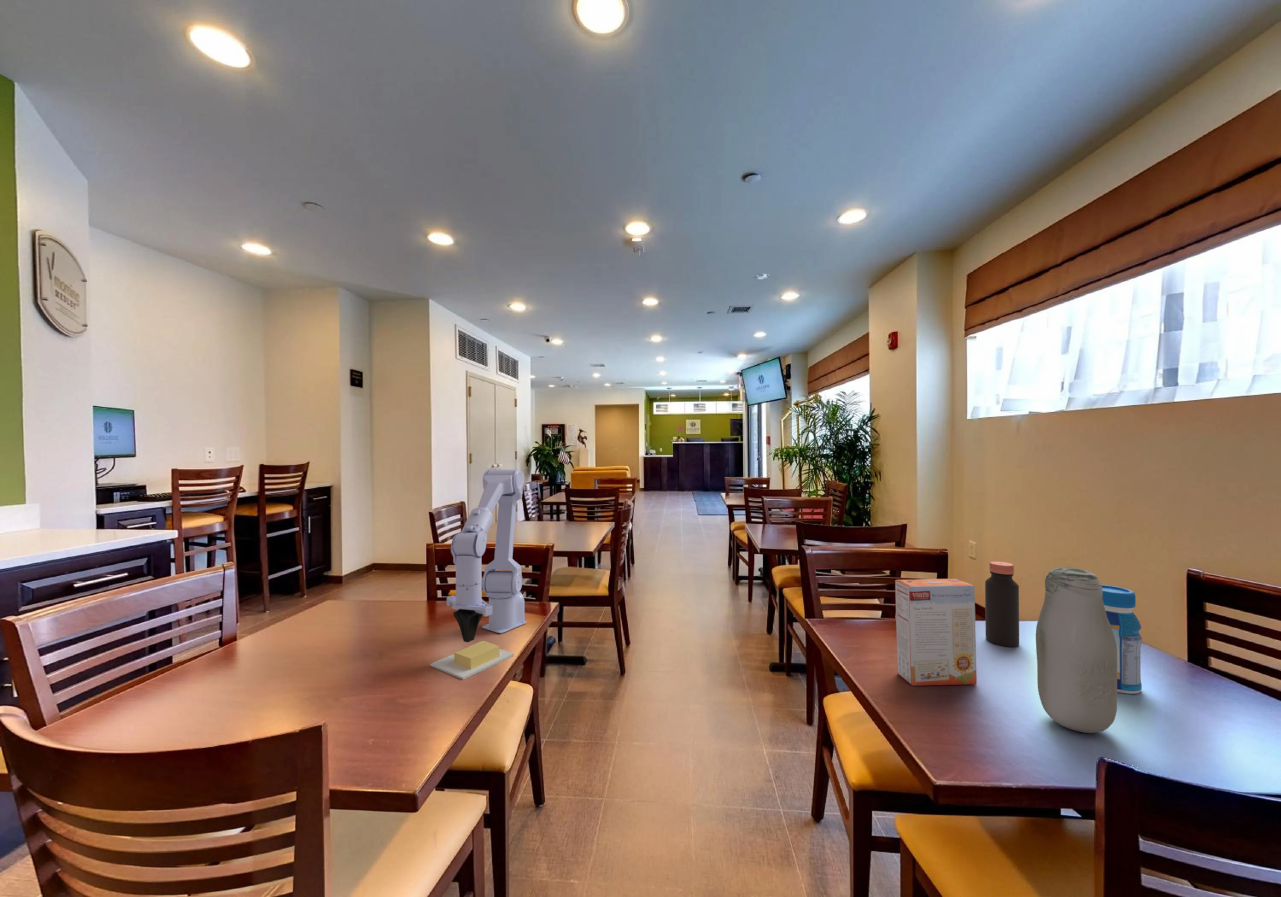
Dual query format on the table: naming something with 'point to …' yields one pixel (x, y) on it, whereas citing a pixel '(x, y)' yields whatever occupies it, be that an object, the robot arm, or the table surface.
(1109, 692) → the grey jar
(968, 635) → the cracker box
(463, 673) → the mat
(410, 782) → the table surface
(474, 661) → the block
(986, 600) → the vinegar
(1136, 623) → the beverage bottle
